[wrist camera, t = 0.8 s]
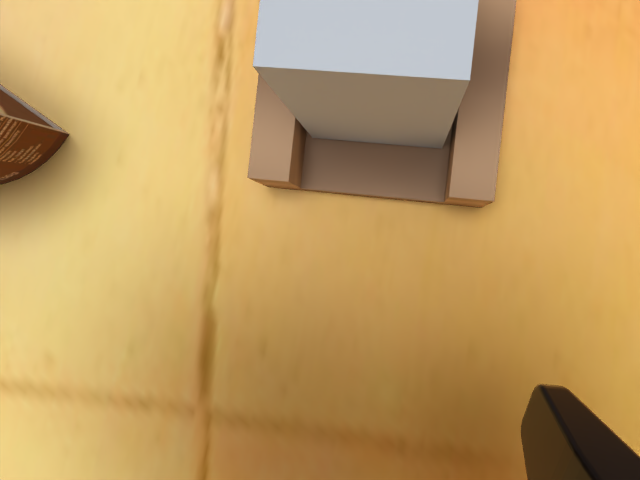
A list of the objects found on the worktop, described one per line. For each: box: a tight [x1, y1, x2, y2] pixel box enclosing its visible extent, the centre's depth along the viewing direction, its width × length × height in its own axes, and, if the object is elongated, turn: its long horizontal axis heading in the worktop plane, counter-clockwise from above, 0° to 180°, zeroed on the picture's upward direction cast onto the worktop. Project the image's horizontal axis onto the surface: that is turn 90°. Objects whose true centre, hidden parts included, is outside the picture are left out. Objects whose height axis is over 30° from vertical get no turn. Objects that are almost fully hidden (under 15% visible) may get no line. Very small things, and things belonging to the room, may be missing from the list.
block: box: [253, 0, 479, 149], centre depth 17 cm, size 5×5×9 cm
